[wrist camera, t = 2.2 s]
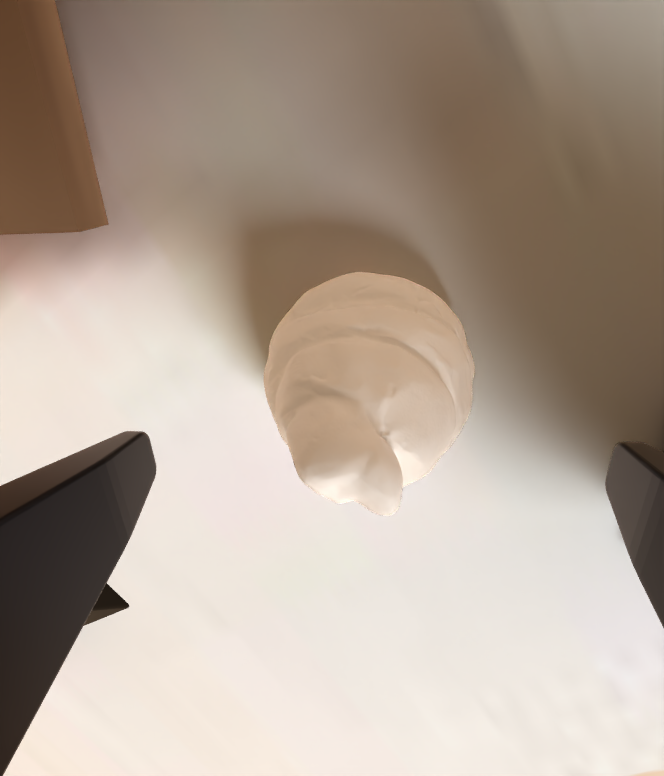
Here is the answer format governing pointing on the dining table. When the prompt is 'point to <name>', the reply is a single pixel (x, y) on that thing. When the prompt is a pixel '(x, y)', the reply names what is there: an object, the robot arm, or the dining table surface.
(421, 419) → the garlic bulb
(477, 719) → the dining table surface
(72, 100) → the walnut stand
